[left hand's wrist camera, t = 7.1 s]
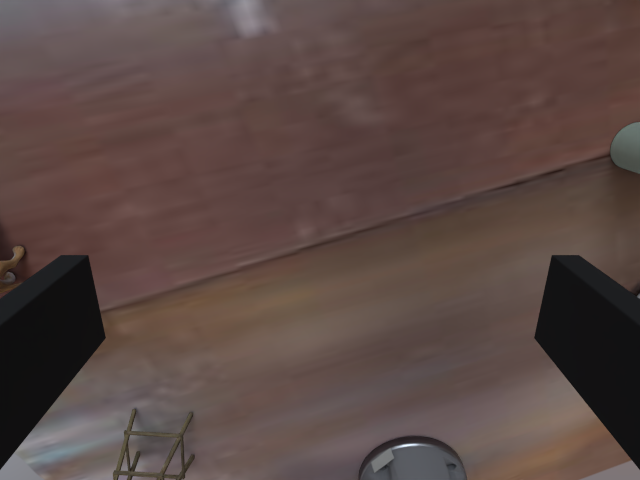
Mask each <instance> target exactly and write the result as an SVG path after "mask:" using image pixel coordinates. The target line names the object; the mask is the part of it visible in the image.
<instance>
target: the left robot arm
mask: <svg viewBox="0 0 640 480" xmlns="http://www.w3.org/2000/svg"><path fill="white" fill-rule="evenodd" d="M105 338H106V337H105V332H104V328H103V323H102V318H101V314H100V309H99V304H98V299H97V295H96V290H95V285H94V281H93V276H92V271H91V266H90V262H89V257H88V255H61V256H59V257H58V258H57V259H55V260H54V261H52V262H51V263H50V264H48V265H47V266H45V267H44V268H43V269H41V270H40V271H38V272H37V273H36V274H34V275H33V276H31V277H30V278H29V279H27V280H26V281H24V282H23V283H22V284H20V285H19V286H17V287H16V288H15V289H13V290H12V291H10V292H9V293H8V294H6V295H5V296H3V297H2V298H1V299H0V469H1V468H2V467H3V466H4V464H5V463H6V462H7V461H8V459H9V458H10V457H11V456H12V454H13V453H14V452H15V451H16V449H17V448H18V447H19V446H20V444H21V443H22V442H23V441H24V439H25V438H26V437H27V436H28V434H29V433H30V432H31V431H32V429H33V428H34V427H35V426H36V424H37V423H38V422H39V421H40V419H41V418H42V417H43V416H44V414H45V413H46V412H47V411H48V409H49V408H50V407H51V406H52V404H53V403H54V402H55V401H56V399H57V398H58V397H59V396H60V394H61V393H62V392H63V391H64V389H65V388H66V387H67V386H68V384H69V383H70V382H71V381H72V379H73V378H74V377H75V376H76V374H77V373H78V372H79V371H80V369H81V368H82V367H83V366H84V364H85V363H86V362H87V361H88V359H89V358H90V357H91V356H92V354H93V353H94V352H95V351H96V349H97V348H98V347H99V346H100V344H101V343H102V342H103V341H104V339H105ZM534 338H535V339H536V341H537V342H538V343H539V344H540V346H541V347H542V348H543V349H544V351H545V352H546V353H547V354H548V356H549V357H550V358H551V359H552V361H553V362H554V363H555V364H556V366H557V367H558V368H559V369H560V371H561V372H562V373H563V374H564V376H565V377H566V378H567V379H568V381H569V382H570V383H571V384H572V386H573V387H574V388H575V389H576V391H577V392H578V393H579V394H580V396H581V397H582V398H583V399H584V401H585V402H586V403H587V404H588V406H589V407H590V408H591V409H592V411H593V412H594V413H595V414H596V416H597V417H598V418H599V419H600V421H601V422H602V423H603V424H604V426H605V427H606V428H607V429H608V431H609V432H610V433H611V434H612V436H613V437H614V438H615V439H616V441H617V442H618V443H619V444H620V446H621V447H622V448H623V449H624V451H625V452H626V453H627V454H628V456H629V457H630V458H631V459H632V461H633V462H634V463H635V464H636V466H637V467H638V468H639V469H640V299H639V298H638V297H637V296H635V295H634V294H632V293H631V292H630V291H628V290H627V289H625V288H624V287H623V286H621V285H620V284H618V283H617V282H616V281H614V280H613V279H611V278H610V277H609V276H607V275H606V274H604V273H603V272H602V271H600V270H599V269H597V268H596V267H595V266H593V265H592V264H590V263H589V262H588V261H586V260H585V259H583V258H582V257H581V256H579V255H552V257H551V262H550V266H549V271H548V276H547V281H546V285H545V290H544V295H543V299H542V304H541V309H540V314H539V318H538V323H537V328H536V332H535V337H534ZM359 480H467V477H466V473H465V470H464V467H463V464H462V462H461V459H460V458H459V456H458V454H457V453H456V452H455V451H454V450H453V449H452V448H451V447H449V446H448V445H446V444H445V443H443V442H441V441H438V440H435V439H432V438H427V437H418V436H412V437H403V438H398V439H394V440H391V441H389V442H386V443H384V444H382V445H380V446H379V447H377V448H376V449H375V450H373V451H372V452H371V453H370V454H369V455H368V456H367V457H366V459H365V460H364V462H363V463H362V465H361V468H360V472H359Z"/></svg>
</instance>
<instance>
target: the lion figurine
mask: <svg viewBox="0 0 640 480" xmlns="http://www.w3.org/2000/svg"><path fill="white" fill-rule="evenodd" d="M24 252H25V251H24V248H23V247H22V246H16V247H14V248H13V253H14V257H13V258H12V259H11V260H8V261H0V278H1V277H2V276H3V274H4V273H5V272H6V271H7V270H8V269H11V268H15V267H16V266H17V264H18V262H19V260H20V259H21V258H22V257H23V255H24ZM4 279H5V280H1V279H0V293H2V292H5V291H8V290H11V289H14V288H16V287H17V286H19V285H20V284H22V283H17V284H13V283H14V281H15V276H14V274H13V273H10V272H7V273H5V275H4ZM11 284H12V285H11Z"/></svg>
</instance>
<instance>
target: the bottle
mask: <svg viewBox="0 0 640 480" xmlns="http://www.w3.org/2000/svg"><path fill="white" fill-rule="evenodd" d="M610 154H611V158H612V160H613V162H614V163H615V164H616V165H617V166H619V167H621V168H623V169H626V170H629V171H633V172H636V173H639V174H640V122H636V123H632V124H630V125H627V126H626V127H624V128H623V129H622V130H620V131H619V132H618V134H617V135H616V136H615V138H614V139H613V142H612V144H611V149H610Z"/></svg>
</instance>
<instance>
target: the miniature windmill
mask: <svg viewBox="0 0 640 480" xmlns="http://www.w3.org/2000/svg"><path fill="white" fill-rule="evenodd" d="M135 414H136V409H133V410H132V414H131V417H130V421H129V424H128V428H127V431H126V430H125V431H124V437H125V439H124V443H123V446H122V450H121V453H120V457H119V461H118V464H117V468H116V471H115V470H114V472H113V480H118V477H119V475H128V478H127V480H131V479H132V477H133V476H140V477H158V478H157V480H164V478H175V479H176V480H181V479H182V478H183V479H184V478H185V473H186V471H187V469H188V468H189V466H190V465H191V463H192V461H193V460H194V455H191V456H190V458H189V459H188V461H187V463H186V464H185V465H184V444H183V435H184V433H185V431H186V429H187V427H188V425H189V423H190V420H191V418H192V416H193V413H189V415H188V417H187V419H186V421H185V423H184V425H183V427H182V429H181V432H180V434H171V433H154V432H137V431H131V429H132V425H133V422H134V418H135ZM130 435H143V436H159V437H176V438H177V440H176V442H175V444H174V446H173V448H172V450H171V452H170V454H169V456H168V458H167V460H166V462H165V464H164V466H163V468H162V470H161V472H160V473H150V472H134V471H135V468H136V465H137V462H138V459H139V457H140V451H138V452H137V453H136V456H135V459H134V461H133V464H132V467H131V468H130V459H129V450H128V440H129V436H130ZM180 441H181V459H182V471H181V472H180V474H179V475H164V473H165V471H166V469H167V467H168V465H169V463H170V461H171V459H172V457H173V455H174V453H175V451H176V449H177V447H178V445H179V443H180ZM125 451H126V455H127V464H128V471H120V470H121V466H122V462H123V459H124V455H125Z"/></svg>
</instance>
